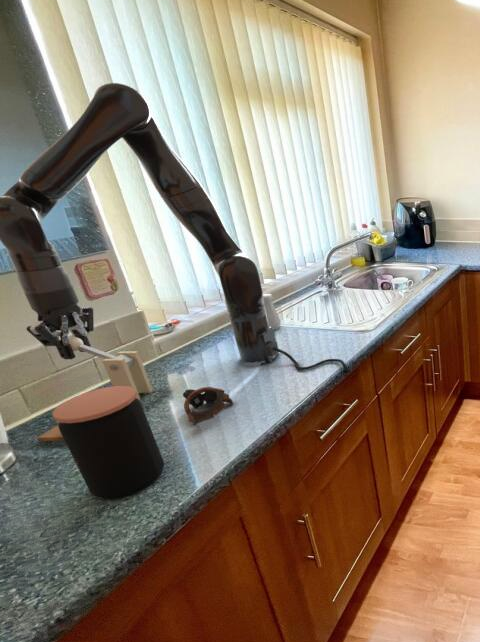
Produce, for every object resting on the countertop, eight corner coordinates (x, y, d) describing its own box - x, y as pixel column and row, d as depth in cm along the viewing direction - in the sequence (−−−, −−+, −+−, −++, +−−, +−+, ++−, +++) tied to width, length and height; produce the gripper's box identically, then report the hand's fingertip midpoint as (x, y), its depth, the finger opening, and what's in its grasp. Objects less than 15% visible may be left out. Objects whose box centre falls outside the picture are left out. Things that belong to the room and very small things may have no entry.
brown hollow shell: (246, 404, 102) (233, 389, 96) (218, 438, 96) (203, 424, 90) (205, 389, 103) (189, 372, 97) (175, 421, 97) (156, 406, 91)
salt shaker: (273, 332, 144) (265, 297, 140) (259, 330, 145) (251, 296, 141) (285, 326, 150) (278, 292, 145) (271, 324, 151) (264, 291, 146)
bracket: (103, 409, 99) (83, 363, 95) (130, 392, 107) (113, 349, 102) (146, 408, 100) (128, 362, 95) (169, 391, 107) (154, 348, 103)
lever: (57, 350, 95) (59, 338, 94) (71, 343, 99) (72, 332, 98) (122, 373, 98) (124, 362, 97) (133, 366, 102) (136, 355, 101)
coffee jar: (123, 462, 82) (89, 386, 75) (179, 460, 83) (150, 384, 76) (75, 504, 72) (31, 420, 66) (139, 500, 73) (102, 417, 66)
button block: (129, 419, 96) (123, 405, 94) (94, 444, 87) (87, 429, 86) (80, 420, 95) (73, 406, 94) (41, 446, 87) (33, 430, 85)
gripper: (33, 296, 85) (66, 368, 92) (93, 278, 98) (118, 342, 105) (-5, 297, 85) (31, 369, 91) (61, 278, 98) (88, 342, 104)
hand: (77, 354), depth 98 cm, fingers closed on lever, 3 cm apart
